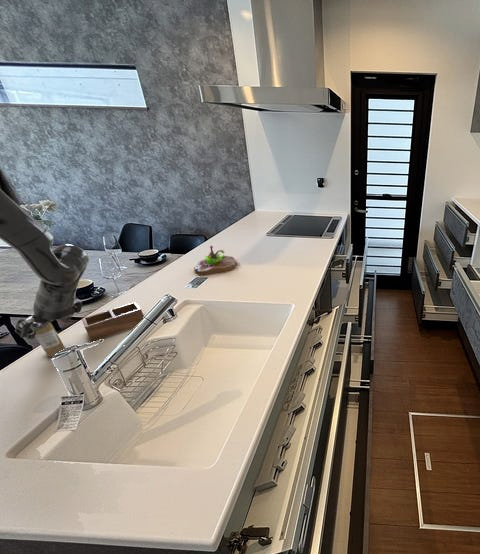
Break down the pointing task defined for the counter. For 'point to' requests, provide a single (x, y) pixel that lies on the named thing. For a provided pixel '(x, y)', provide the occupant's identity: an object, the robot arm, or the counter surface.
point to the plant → (215, 264)
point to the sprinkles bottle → (49, 339)
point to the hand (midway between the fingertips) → (47, 328)
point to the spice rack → (112, 321)
